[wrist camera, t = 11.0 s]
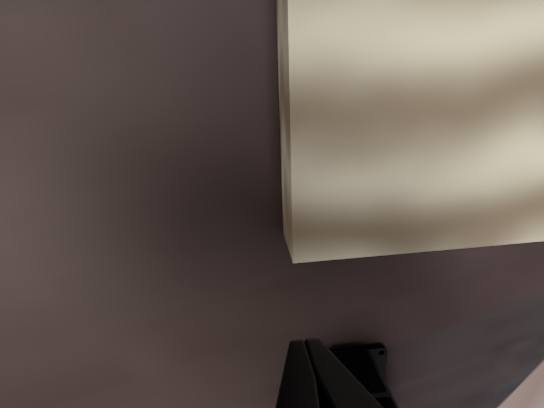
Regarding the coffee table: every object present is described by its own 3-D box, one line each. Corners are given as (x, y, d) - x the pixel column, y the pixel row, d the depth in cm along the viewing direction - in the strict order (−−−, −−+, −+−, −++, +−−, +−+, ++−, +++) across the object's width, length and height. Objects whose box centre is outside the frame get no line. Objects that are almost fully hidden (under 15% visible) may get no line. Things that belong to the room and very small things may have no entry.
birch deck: (498, 215, 22) (552, 240, 18) (283, 233, 21) (292, 263, 17) (561, -52, 16) (657, -97, 13) (274, -51, 15) (285, -101, 11)
